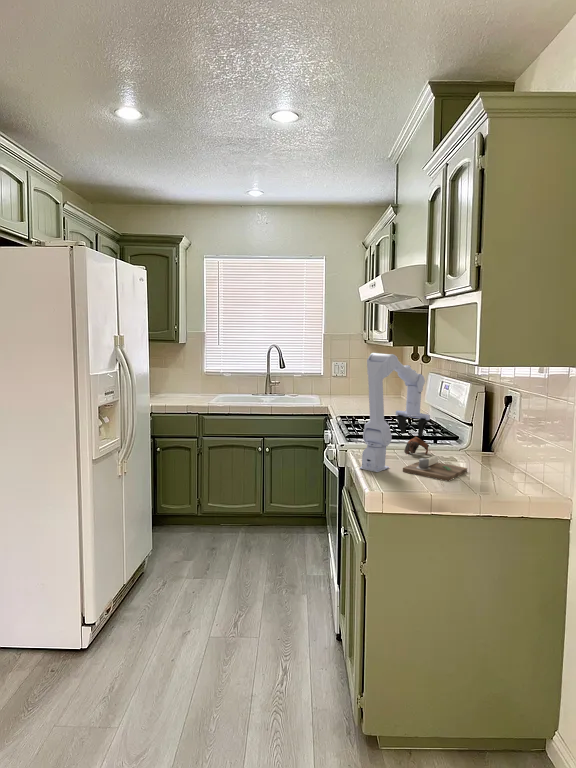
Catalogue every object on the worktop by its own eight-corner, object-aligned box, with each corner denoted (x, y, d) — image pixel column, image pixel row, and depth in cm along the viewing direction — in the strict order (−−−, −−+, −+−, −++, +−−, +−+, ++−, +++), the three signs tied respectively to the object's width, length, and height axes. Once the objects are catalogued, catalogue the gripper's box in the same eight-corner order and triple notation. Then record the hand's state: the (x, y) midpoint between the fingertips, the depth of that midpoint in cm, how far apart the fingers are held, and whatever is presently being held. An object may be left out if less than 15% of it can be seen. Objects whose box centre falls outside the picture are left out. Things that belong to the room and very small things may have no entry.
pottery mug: (404, 450, 253) (414, 435, 253) (422, 463, 249) (433, 447, 249) (399, 449, 242) (410, 432, 242) (418, 461, 238) (429, 445, 238)
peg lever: (425, 468, 212) (426, 460, 212) (417, 467, 215) (417, 459, 214) (440, 462, 223) (441, 455, 222) (431, 461, 225) (432, 453, 225)
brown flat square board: (448, 481, 204) (448, 476, 204) (402, 471, 215) (402, 467, 215) (467, 471, 218) (467, 467, 218) (423, 463, 229) (423, 459, 229)
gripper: (434, 403, 232) (431, 436, 234) (401, 399, 241) (399, 431, 243) (426, 405, 227) (424, 438, 228) (394, 400, 236) (392, 433, 237)
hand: (411, 434), depth 235 cm, fingers open, 7 cm apart
